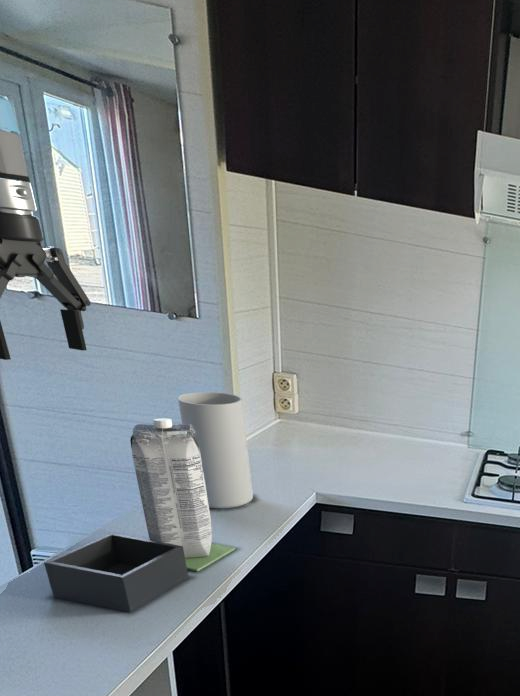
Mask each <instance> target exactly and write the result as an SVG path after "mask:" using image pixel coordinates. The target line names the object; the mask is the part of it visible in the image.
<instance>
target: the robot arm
mask: <svg viewBox="0 0 520 696" xmlns="http://www.w3.org/2000/svg"><path fill="white" fill-rule="evenodd" d="M37 209H38V208H37V205H36V201H35V197H34V192H33V188H32V184H31V180H30V177H29V172H28V167H27V164H26V159H25V154H24V149H23V144H22V139H21V131H20V129H19V126H18V123H17V119H16V116H15V113H14V109H13V106H12V104H11V101H10V100H9V99H7V98H6V97H5V96H4V95H2V94H0V299H1V298H2V296H3V294H4V293H5V290H6V288H7V286H8V284H9V283H10V281H13V280H14V278H25V277H28V278H34V279H35V280H37V281H38V282H39V283H40V284H41V285H42V286H43V287H44V288H45V289H46V290H47V291H48V292H49V293H50V294H51V296H53V298H54V299H56V300H57V301H58V302H59V304H60V305H61V306H63V307H64V308H61V309H59V311H60V315H61V320H62V324H63V328H64V332H65V337H66V341H67V345H68V349H70V350H76V351H81V352H83V351H87V344H86V341H85V336H84V331H83V330H84V329H85V324H84V319H83V315H82V312H86V311H87V307H90V306H91V305H92V304H91V299H89V297H88V296H87V294H86V292H85V290H84V289H83V287H82V286H81V285H80V283H79V281H78V280H77V278H76V276H75V275H74V273H73V272H72V270H71V268H70V267H69V265H68V264H67V262H66V259H65V256H64V252H63V250H62V249H61V248H59V247H54V246H46V245H42V244H41V242H43V241H44V233H43V230H42V225H41V222H40V218H39V217H38V216H37V215H33V214H34V213H33V212H36V211H37ZM45 261H46V263H45ZM0 360H3V361H9V360H12V358H11V355H10V351H9V347H8V344H7V340H6V336H5V333H4V328H3V326H2V321H1V320H0Z"/></svg>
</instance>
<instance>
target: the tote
mask: <svg viewBox="0 0 520 696" xmlns="http://www.w3.org/2000/svg"><path fill="white" fill-rule="evenodd" d="M43 565H44V569H45V571H46V575H47V578H48V582H49V586H50V590H51V592H52V597H53V598H56V599H62V600H66V601H71V602H75V603H80V604H81V603H82V604H87V605H90V606H91V605H92V606H97V607H100V608H101V607H102V608H107V609H112V610H118V611H122V612H127V613H132V612H133V611H135V610H137V609H139V608H140V607H142V606H144V605H146V604H147V603H149V602H151V601H152V600H154V599H155V598H157V597H159V596H161V595H162V594H163V593H165V592H168V591H169V590H171V589H172V588H174V587H176V586H177V585H180V584H181V583H183V582H185V581H186V580H188V579H189V578H190V577H189V572H188V570H187V566H186V561H185V555H184V550H183V546H179V545H174V544H168V543H163V542H158V541H152V540H150V539H147V538H142V537H137V536H131V535H125V534H120V533H113V532H110V533H107V534H106V535H104V536H101V537H99V538H96V539H94V540H92V541H90V542H88V543H85V544H83V545H80V546H78V547H76V548H74V549H71V550H70V551H69V550H68V551H67V552H64V553H62V554H60V555H58V556H55V557H53V558H50V559H48V560H47V561H44V562H43Z"/></svg>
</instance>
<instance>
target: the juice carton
mask: <svg viewBox="0 0 520 696" xmlns="http://www.w3.org/2000/svg"><path fill="white" fill-rule="evenodd" d="M152 423H153V424H143V423H138V424H136V425H134V427H133V429H132V434H131V436H130V447H131V454H132V455H131V456H132V461H133V466H134V471H135V476H136V482H137V486H138V491H139V496H140V501H141V505H142V511H143V517H144V520H145V525H146V529H147V533H148V540H152V541H158V542H163V543H168V544H174V545H179V546H183V550H184V555H185V558H194V557H205V556H209V553H210V548H211V543H213V534H212V533H213V531H212V530H213V529H212V518H211V511H210V508H209V505H208V498H207V492H206V485H205V479H204V473H203V466H202V460H201V454H200V448H199V443H198V439H197V435H196V431H195V429H194V427H193V426H192V425H191V424H182V423H179V424H173V421H172V418H165V417H163V418H161V417H160V418H154V419H152Z"/></svg>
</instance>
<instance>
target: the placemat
mask: <svg viewBox="0 0 520 696" xmlns="http://www.w3.org/2000/svg"><path fill="white" fill-rule="evenodd" d="M235 550H236V547H234V546H228V545H223V544H218V543H213V542H211V548H210V553H209V556H205V557H194V558H185V561H186V566H187V571H191V572H192V571H193V572H199V571H201V570H203V569H204V568H206V567H208V566H209V565H211V564H213V563H215V562H216V561H218V560H219V559H221V558H223V557H225V556H227V555H229V554H230V553H232V552H233V551H235Z"/></svg>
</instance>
